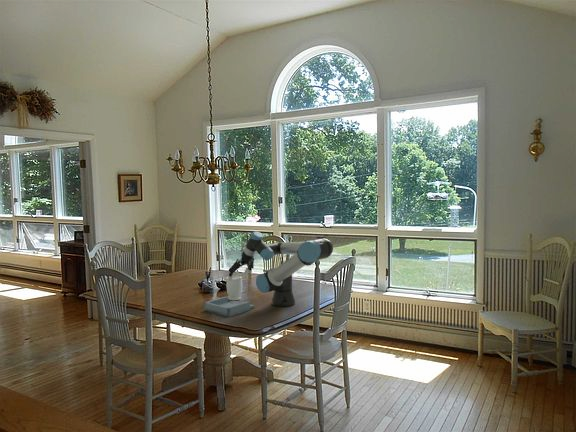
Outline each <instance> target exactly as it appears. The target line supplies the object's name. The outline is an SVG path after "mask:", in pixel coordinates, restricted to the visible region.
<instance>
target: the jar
mask: <svg viewBox="0 0 576 432" xmlns="http://www.w3.org/2000/svg"><path fill="white" fill-rule="evenodd" d="M225 278H226V291H227V295H228V296H227V297H228V301H239V300H240V301H241V299H242V297H241V296H242V292H243V281H242V278H243V277H242V276H240V275H233V277H232V279H231V281H229V279H228V276H227V277H225Z"/></svg>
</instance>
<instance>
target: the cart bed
mask: <svg viewBox="0 0 576 432" xmlns="http://www.w3.org/2000/svg"><path fill="white" fill-rule="evenodd" d="M228 298H229V296H223V297H219V298H216V299H212V300H208V301H206V302H203V310H204V311H205V312H207V313H208V312H209V313H212V314H216V315H220V316H223V317H228V318H229V317H233V316H236V315H238V314H241V313H245V312H248V311H251V309H252V308H255V304H251V301H241V300H240V301H239V300H229V299H228Z"/></svg>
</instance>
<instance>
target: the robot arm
mask: <svg viewBox="0 0 576 432" xmlns="http://www.w3.org/2000/svg"><path fill="white" fill-rule="evenodd" d="M263 238H264V235H263V234H262V233H261V232H260V231H257V230H256V231H253V232H251V235H250V236H249V238H248V240H247V243H246V245H245V247H244V249H243V251H242V252H241V258H240V259H239V258H237V259H236V260H235V261H234V263H233V264H232V265H231V266H230V267H229V269H228V272H229V274H228V276H227V277H228V279H229V281H231V279H232V277H233V276H235V275H234V274H235V272H237V270H239V269H240V268H241V267H243V266H246V267H245V268H246V269H244V272H243V274H242V276H243V278H247V276H248V274H249V273H250V271H252V270H253V269H254V266H255V265H254V263H255V255H256V253H257V254H258V255H259V256H260V257H261V258H262V259H263V260H264V261H269V260H271V259H273V257H274V256H276V255H292V256H290V257H289V258H288V259H286V260H285V261H283V262H282V263H281V264H280V265H278V266H277V267H272V268H270V269H269V270H266V271H265V272H263V273H260V274H258V275H257V276H256V278H255V286H256V287H257V289H258V291H259V292H260V293H262V294H266V293H269V292H273V295H272V298H271V305H272V306H276V307H290V306H294V305H295V304H296V298H295V296H294V293H293V274H295V273H296V272H297V271H299V270H301V269H302V268H303V267H305V266H307V267H309V266H311V265H313V264H315V263H316V262H318V261H320V260H323V259H327V258H329V257H330V256H331V255H332V254H333V250H334V245H333V243H332V242H331V240H329V239H327V238H322V237H321V238H317V239H313V240H311V239H310V240H309V239H308V240H305V241H287V242H285V241H278V242H273V243H266V242H265V241H264V240H263Z"/></svg>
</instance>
